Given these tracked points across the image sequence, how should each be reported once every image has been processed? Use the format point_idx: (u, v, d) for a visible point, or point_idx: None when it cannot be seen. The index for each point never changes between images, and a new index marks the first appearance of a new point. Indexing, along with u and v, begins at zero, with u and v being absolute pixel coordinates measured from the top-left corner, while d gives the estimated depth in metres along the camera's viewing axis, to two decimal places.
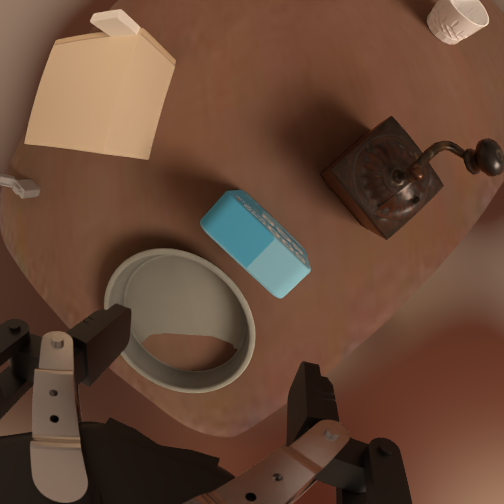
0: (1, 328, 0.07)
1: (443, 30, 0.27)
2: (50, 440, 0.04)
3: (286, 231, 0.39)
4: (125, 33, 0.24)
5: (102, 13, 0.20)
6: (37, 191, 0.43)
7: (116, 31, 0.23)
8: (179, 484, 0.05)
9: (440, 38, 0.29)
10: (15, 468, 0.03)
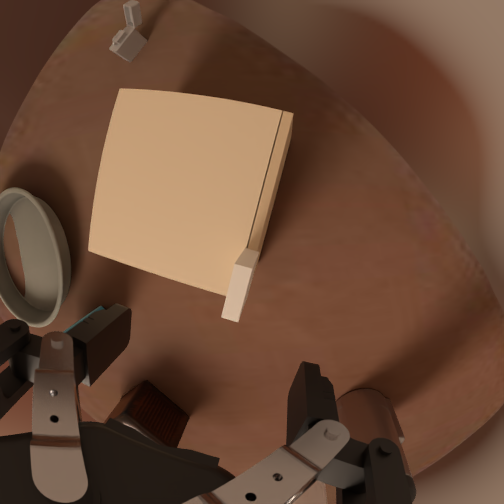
0: (1, 328, 0.07)
1: None
2: (50, 440, 0.04)
3: None
4: None
5: (243, 288, 0.19)
6: None
7: None
8: (179, 484, 0.05)
9: None
10: (15, 468, 0.03)
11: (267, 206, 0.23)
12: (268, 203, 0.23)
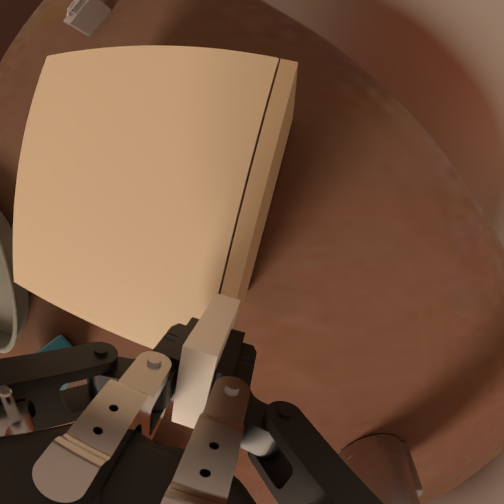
0: (85, 347, 0.08)
1: None
2: (77, 446, 0.04)
3: (66, 386, 0.32)
4: None
5: (203, 387, 0.09)
6: (85, 33, 0.21)
7: None
8: None
9: None
10: (12, 479, 0.03)
11: (253, 223, 0.13)
12: (255, 217, 0.13)
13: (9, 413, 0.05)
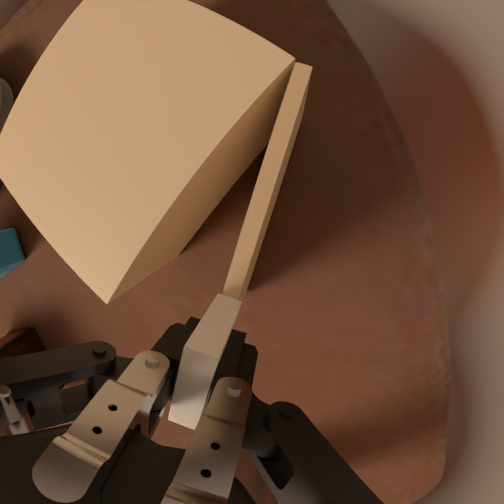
0: (84, 347, 0.08)
1: None
2: (77, 445, 0.04)
3: None
4: None
5: (202, 387, 0.09)
6: None
7: None
8: None
9: None
10: (12, 479, 0.03)
11: (259, 225, 0.13)
12: (261, 220, 0.13)
13: (8, 412, 0.05)
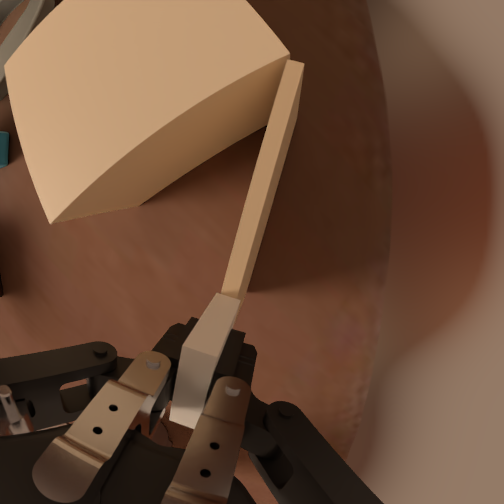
0: (85, 347, 0.08)
1: None
2: (77, 446, 0.04)
3: None
4: None
5: (201, 387, 0.09)
6: None
7: None
8: None
9: None
10: (12, 479, 0.03)
11: (255, 223, 0.13)
12: (257, 218, 0.13)
13: (9, 413, 0.05)
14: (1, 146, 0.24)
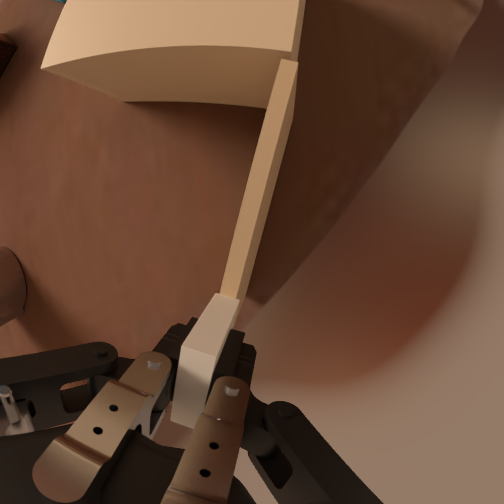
0: (85, 347, 0.08)
1: None
2: (77, 446, 0.04)
3: None
4: None
5: (202, 387, 0.09)
6: None
7: None
8: None
9: None
10: (12, 479, 0.03)
11: (253, 223, 0.13)
12: (254, 217, 0.13)
13: (9, 413, 0.05)
14: None
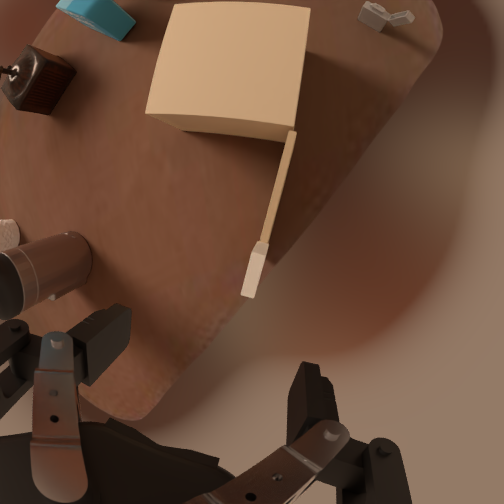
0: (1, 328, 0.07)
1: (5, 222, 0.44)
2: (50, 440, 0.04)
3: (95, 29, 0.35)
4: None
5: (258, 271, 0.25)
6: (358, 16, 0.31)
7: None
8: (179, 484, 0.05)
9: (12, 220, 0.46)
10: (15, 468, 0.03)
11: (275, 207, 0.28)
12: (276, 205, 0.28)
13: None
14: (126, 28, 0.34)
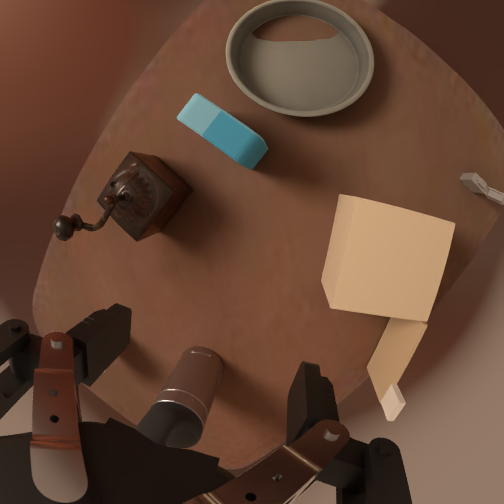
0: (1, 328, 0.07)
1: None
2: (50, 440, 0.04)
3: None
4: (384, 397, 0.40)
5: (399, 410, 0.36)
6: (462, 177, 0.42)
7: (388, 397, 0.39)
8: (179, 484, 0.05)
9: None
10: (15, 468, 0.03)
11: (405, 367, 0.39)
12: (406, 365, 0.39)
13: None
14: (260, 158, 0.45)
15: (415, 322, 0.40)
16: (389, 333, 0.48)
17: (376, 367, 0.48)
